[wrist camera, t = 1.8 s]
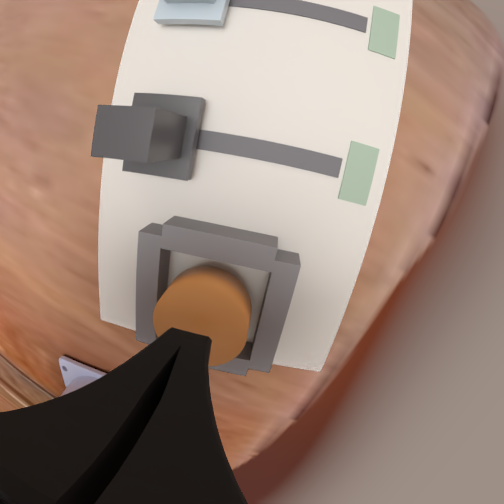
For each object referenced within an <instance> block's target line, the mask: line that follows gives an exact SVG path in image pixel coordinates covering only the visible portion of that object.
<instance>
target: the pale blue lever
mask: <svg viewBox="0 0 504 504" xmlns="http://www.w3.org/2000/svg"><path fill="white" fill-rule="evenodd" d="M229 2H230V0H159V3H158V6H157V9H156V12H155V15H154V18H153V20H154V21H155V22H156V23H157V24H199V25H218V26H223V24H224V20H225V16H226V13H227V9H228V6H229Z"/></svg>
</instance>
